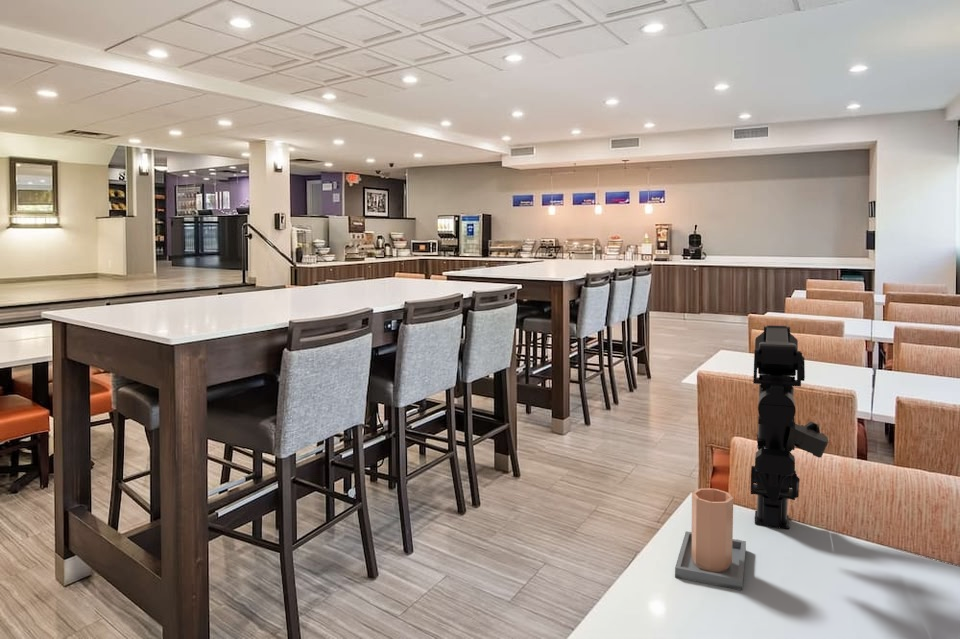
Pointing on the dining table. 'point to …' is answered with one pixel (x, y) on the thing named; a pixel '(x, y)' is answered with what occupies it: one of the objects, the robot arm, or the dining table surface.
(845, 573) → the dining table surface
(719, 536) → the cup
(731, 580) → the tray
